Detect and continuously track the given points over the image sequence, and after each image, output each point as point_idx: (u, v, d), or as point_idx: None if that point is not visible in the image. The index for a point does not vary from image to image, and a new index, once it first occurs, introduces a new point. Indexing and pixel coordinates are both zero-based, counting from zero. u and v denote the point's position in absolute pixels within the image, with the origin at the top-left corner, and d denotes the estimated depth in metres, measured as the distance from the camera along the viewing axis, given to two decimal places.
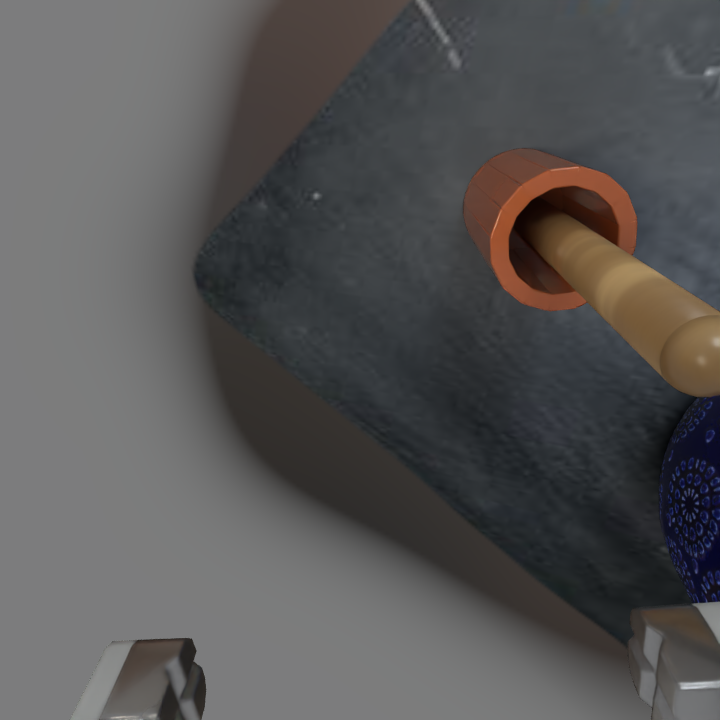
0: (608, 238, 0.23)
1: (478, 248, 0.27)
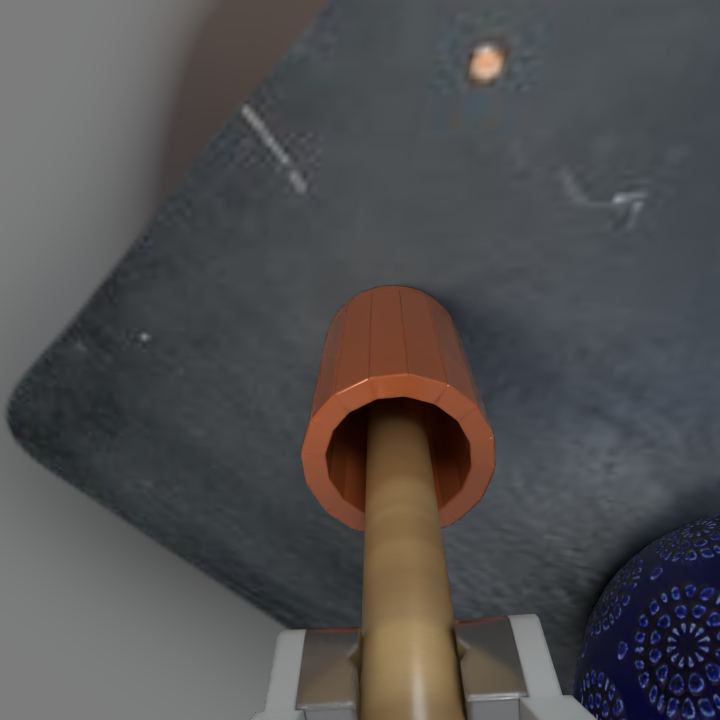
0: (466, 445, 0.18)
1: None
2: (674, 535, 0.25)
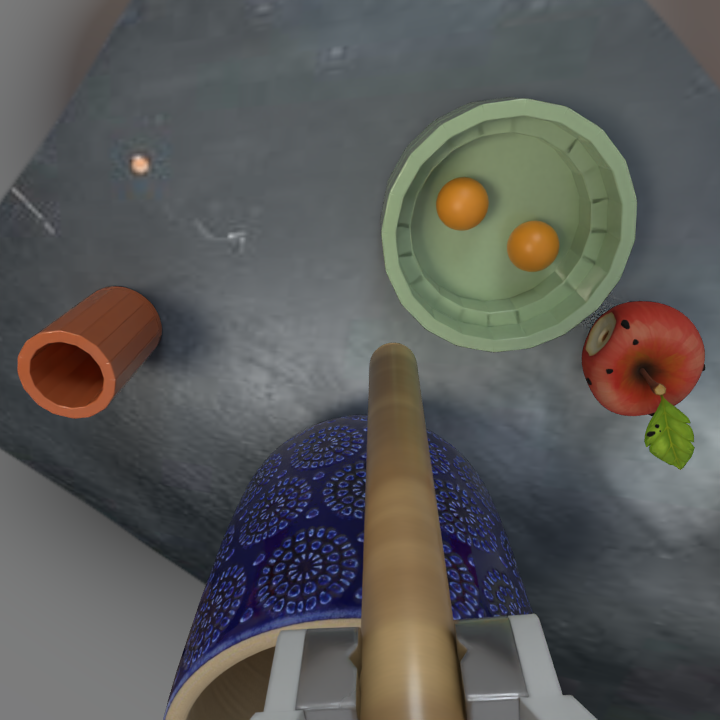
0: None
1: None
2: None
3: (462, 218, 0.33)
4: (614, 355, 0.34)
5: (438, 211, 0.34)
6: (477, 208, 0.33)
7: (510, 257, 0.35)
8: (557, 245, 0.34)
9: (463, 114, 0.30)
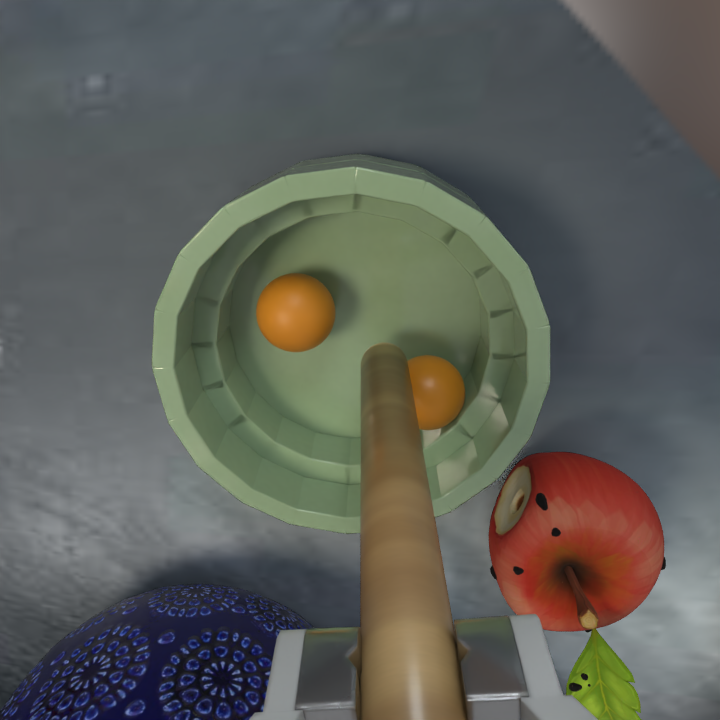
0: None
1: None
2: None
3: (288, 339, 0.22)
4: (525, 549, 0.22)
5: (258, 324, 0.23)
6: (309, 325, 0.21)
7: None
8: (464, 398, 0.24)
9: (256, 191, 0.18)
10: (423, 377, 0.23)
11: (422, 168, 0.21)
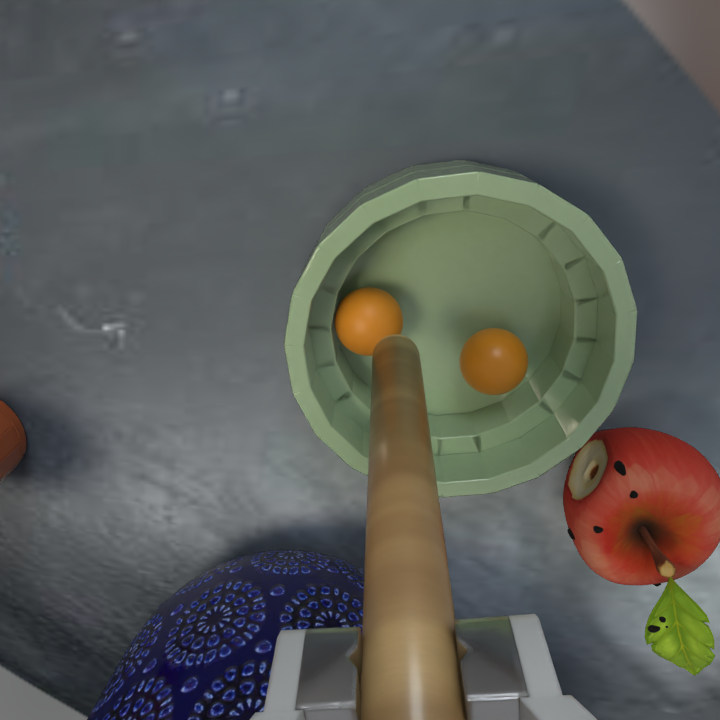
0: None
1: None
2: None
3: (342, 343, 0.26)
4: (605, 510, 0.25)
5: None
6: (351, 345, 0.25)
7: (462, 374, 0.27)
8: (522, 369, 0.26)
9: (391, 192, 0.21)
10: (482, 335, 0.26)
11: (518, 173, 0.24)
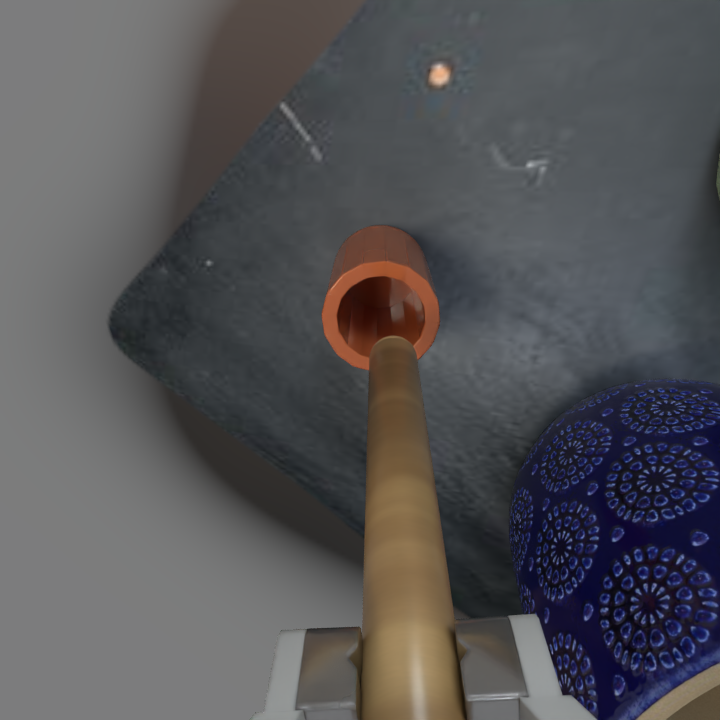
0: (423, 313, 0.28)
1: None
2: None
3: None
4: None
5: None
6: None
7: None
8: None
9: None
10: None
11: None
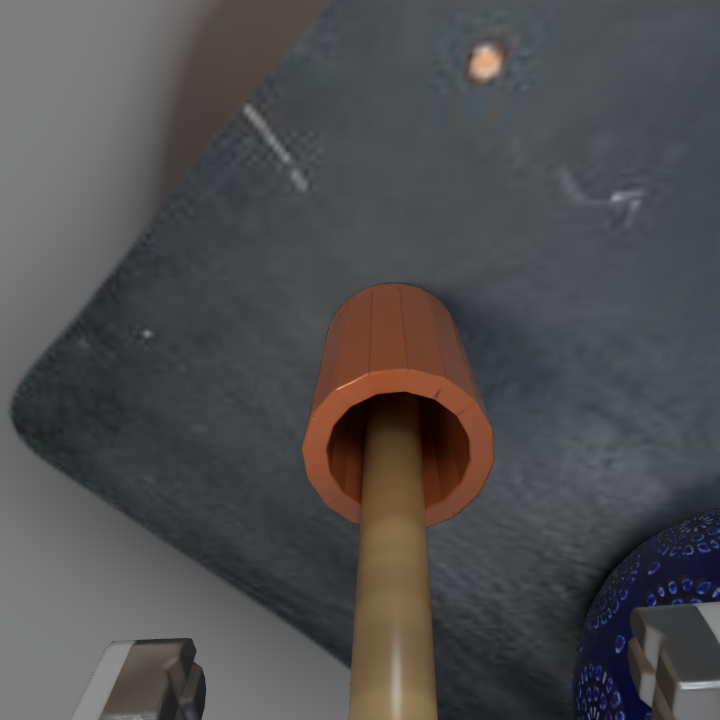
0: (465, 440, 0.18)
1: None
2: (672, 530, 0.25)
3: None
4: None
5: None
6: None
7: None
8: None
9: None
10: None
11: None
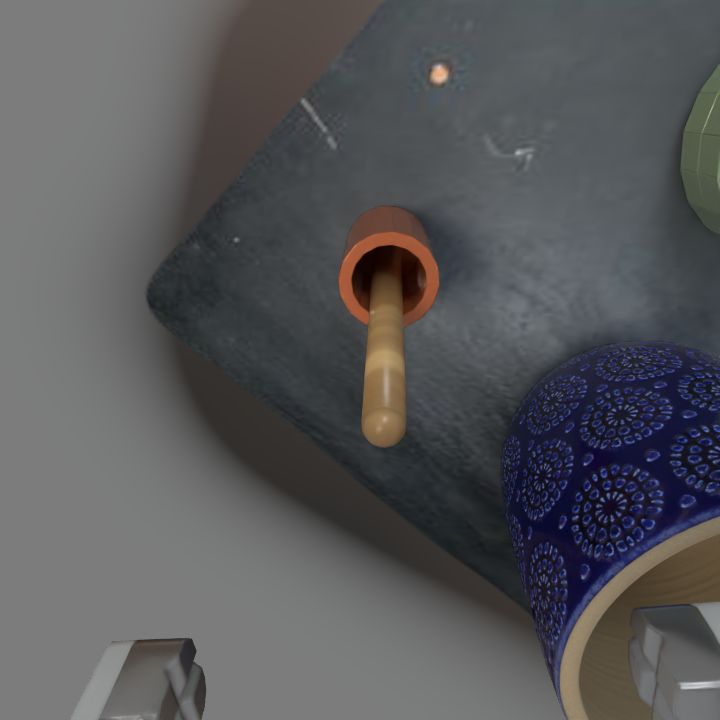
0: (425, 278, 0.33)
1: None
2: None
3: None
4: None
5: None
6: None
7: None
8: None
9: None
10: None
11: None
